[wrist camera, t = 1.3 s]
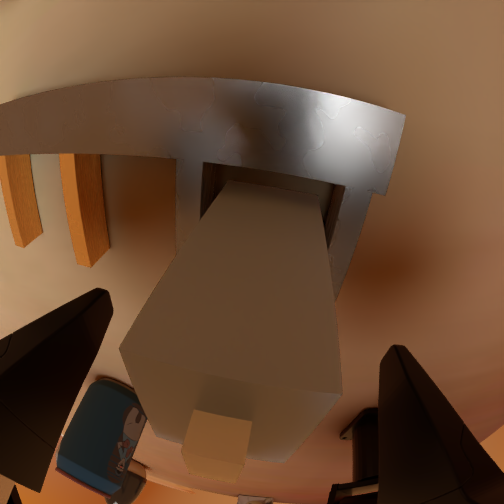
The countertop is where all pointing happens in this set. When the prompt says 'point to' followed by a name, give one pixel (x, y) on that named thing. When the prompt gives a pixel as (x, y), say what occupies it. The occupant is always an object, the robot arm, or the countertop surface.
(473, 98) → the countertop surface
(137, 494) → the pump dispenser
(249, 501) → the coffee box
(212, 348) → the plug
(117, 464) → the soda can
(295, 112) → the grey comb shape
